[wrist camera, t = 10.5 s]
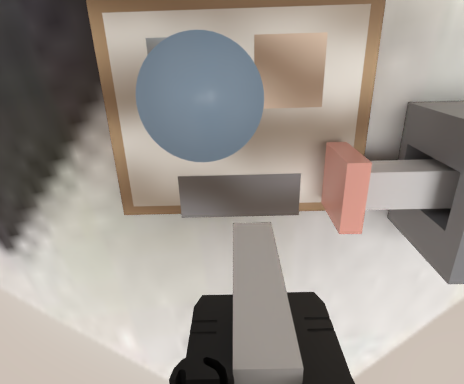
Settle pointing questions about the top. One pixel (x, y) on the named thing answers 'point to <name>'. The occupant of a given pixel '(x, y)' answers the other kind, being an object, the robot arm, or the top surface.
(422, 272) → the top surface
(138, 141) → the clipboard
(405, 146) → the box
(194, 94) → the pale blue cylinder
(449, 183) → the plunger
